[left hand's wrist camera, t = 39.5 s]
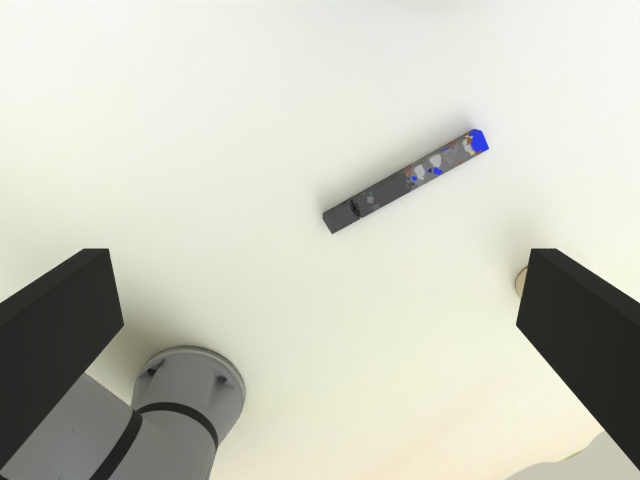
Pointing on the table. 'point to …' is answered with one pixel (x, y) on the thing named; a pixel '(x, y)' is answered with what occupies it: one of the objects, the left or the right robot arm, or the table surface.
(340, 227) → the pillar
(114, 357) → the table surface
